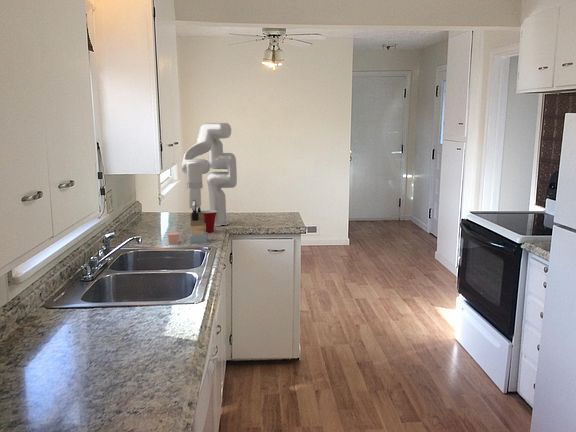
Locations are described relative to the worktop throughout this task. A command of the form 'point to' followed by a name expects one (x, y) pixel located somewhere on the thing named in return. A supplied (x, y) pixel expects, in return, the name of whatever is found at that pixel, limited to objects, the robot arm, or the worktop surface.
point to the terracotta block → (173, 238)
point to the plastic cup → (209, 219)
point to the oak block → (199, 230)
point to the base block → (199, 238)
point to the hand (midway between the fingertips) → (196, 218)
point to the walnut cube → (200, 221)
